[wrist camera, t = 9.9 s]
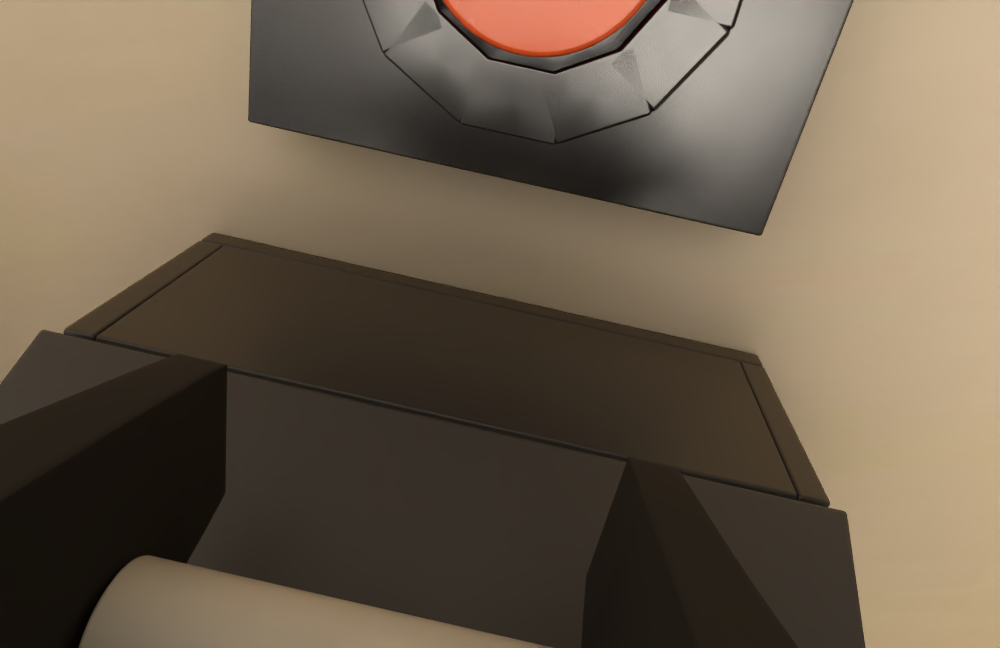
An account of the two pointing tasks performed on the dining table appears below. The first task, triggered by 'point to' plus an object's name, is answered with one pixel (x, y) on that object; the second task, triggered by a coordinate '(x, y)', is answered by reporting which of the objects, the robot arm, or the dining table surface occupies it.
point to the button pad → (561, 96)
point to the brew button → (543, 23)
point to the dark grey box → (465, 361)
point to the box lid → (410, 530)
